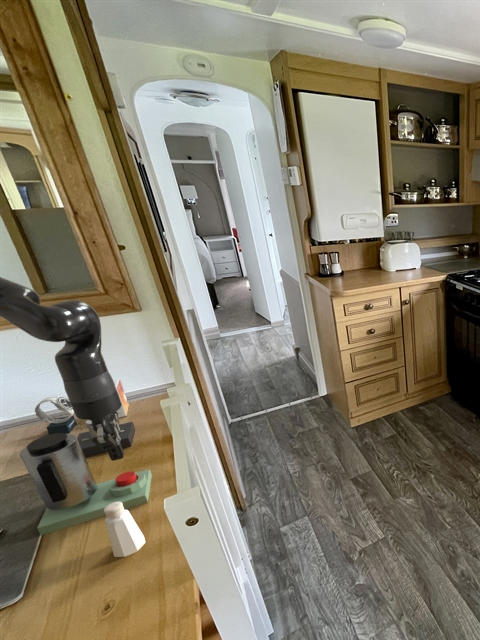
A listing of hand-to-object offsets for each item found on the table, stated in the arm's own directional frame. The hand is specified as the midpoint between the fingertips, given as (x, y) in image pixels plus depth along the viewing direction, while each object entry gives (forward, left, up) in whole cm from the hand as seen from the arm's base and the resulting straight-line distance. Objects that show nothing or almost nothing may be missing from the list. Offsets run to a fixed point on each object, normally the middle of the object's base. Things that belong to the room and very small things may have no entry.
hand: (118, 458), depth 88 cm
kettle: (-10, 0, -7) cm, 12 cm away
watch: (-21, +45, -11) cm, 51 cm away
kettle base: (-6, 0, -11) cm, 12 cm away
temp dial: (-9, +29, -8) cm, 31 cm away
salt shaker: (+1, -19, -11) cm, 22 cm away
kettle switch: (0, 0, -7) cm, 7 cm away
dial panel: (-9, +29, -11) cm, 32 cm away
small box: (-9, +49, -11) cm, 51 cm away
